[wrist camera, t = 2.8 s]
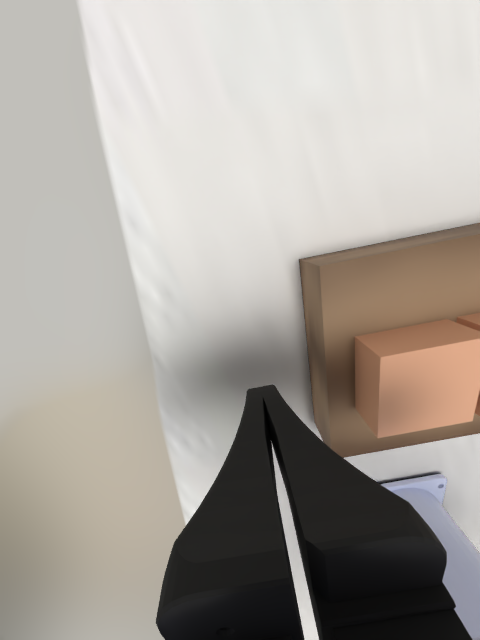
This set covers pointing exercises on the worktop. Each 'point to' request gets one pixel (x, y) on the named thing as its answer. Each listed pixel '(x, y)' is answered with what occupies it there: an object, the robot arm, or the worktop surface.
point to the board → (381, 321)
